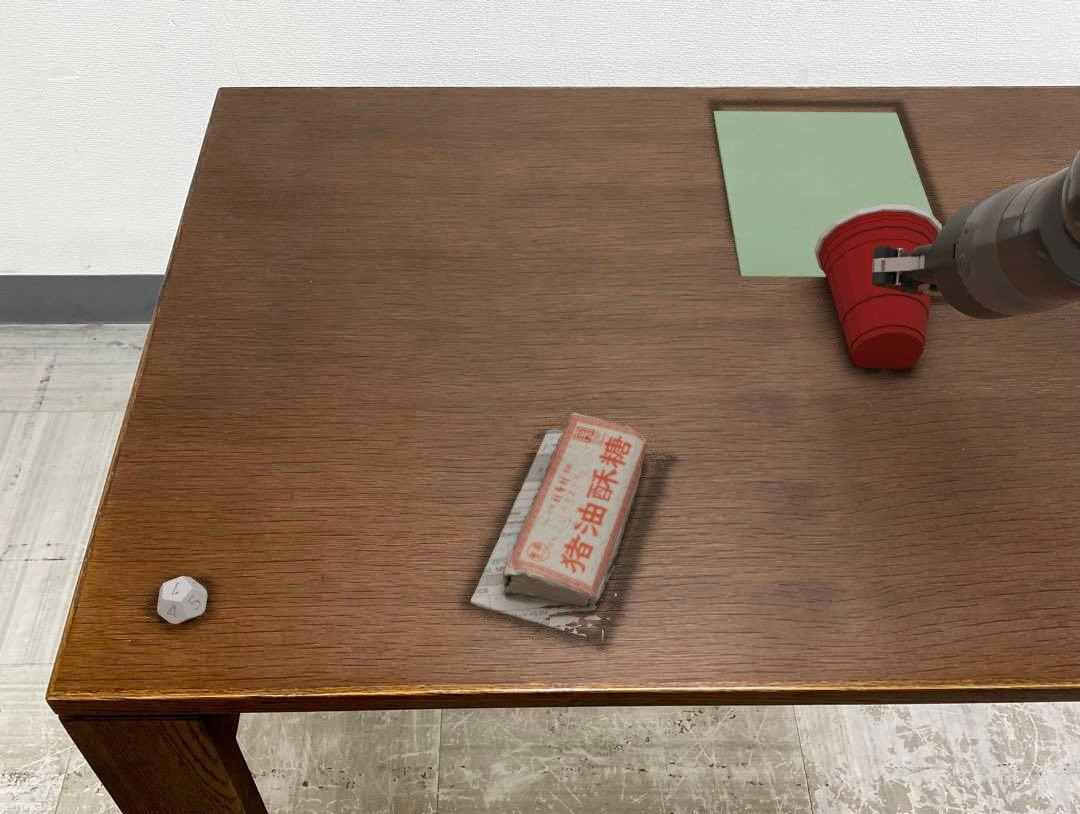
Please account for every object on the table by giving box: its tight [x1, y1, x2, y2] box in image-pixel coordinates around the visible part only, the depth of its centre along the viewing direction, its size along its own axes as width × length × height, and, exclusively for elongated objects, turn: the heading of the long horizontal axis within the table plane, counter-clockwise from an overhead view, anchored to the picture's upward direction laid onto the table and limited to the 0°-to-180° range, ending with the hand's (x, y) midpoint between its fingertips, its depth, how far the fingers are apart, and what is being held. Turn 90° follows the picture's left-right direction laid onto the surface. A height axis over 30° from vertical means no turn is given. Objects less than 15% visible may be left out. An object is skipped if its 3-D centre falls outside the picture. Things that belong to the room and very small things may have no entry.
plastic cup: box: [814, 204, 943, 370], centre depth 88 cm, size 11×11×12 cm
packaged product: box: [470, 412, 647, 642], centre depth 77 cm, size 18×5×10 cm
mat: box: [713, 110, 934, 278], centre depth 103 cm, size 20×32×1 cm, turn 0°
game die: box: [156, 575, 208, 625], centre depth 73 cm, size 4×4×3 cm
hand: (917, 280), depth 78 cm, fingers closed
